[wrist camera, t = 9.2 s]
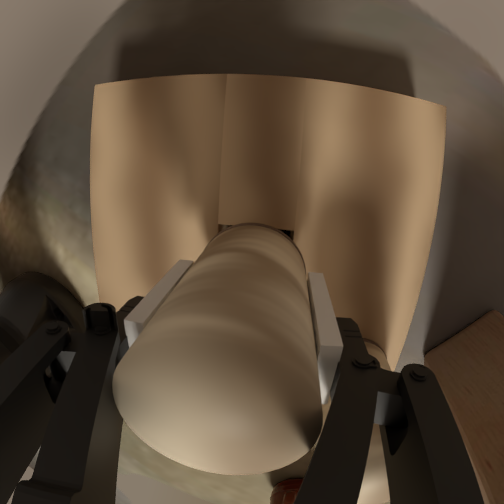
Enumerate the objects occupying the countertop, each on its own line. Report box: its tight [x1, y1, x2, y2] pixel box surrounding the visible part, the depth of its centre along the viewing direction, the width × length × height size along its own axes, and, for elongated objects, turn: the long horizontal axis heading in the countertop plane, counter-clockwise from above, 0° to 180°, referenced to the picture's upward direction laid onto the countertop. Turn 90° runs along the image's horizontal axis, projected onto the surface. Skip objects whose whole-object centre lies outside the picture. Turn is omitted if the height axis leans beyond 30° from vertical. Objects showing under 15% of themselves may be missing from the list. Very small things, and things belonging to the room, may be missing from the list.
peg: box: [112, 223, 323, 475], centre depth 15 cm, size 6×6×16 cm
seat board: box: [90, 74, 446, 504], centre depth 17 cm, size 24×24×16 cm
